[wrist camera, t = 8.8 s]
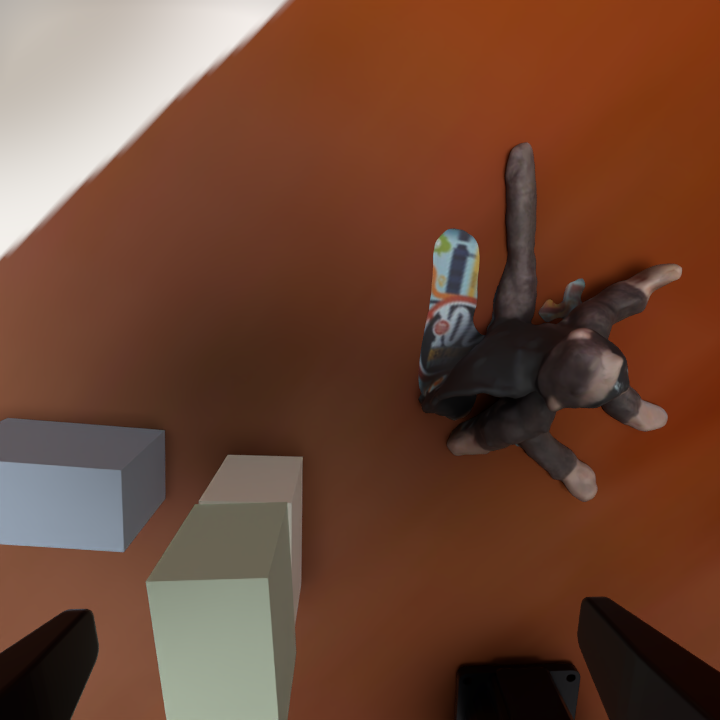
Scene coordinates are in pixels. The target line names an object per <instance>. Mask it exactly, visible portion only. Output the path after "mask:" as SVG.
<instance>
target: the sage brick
mask: <svg viewBox="0 0 720 720" xmlns="http://www.w3.org/2000/svg"><path fill="white" fill-rule="evenodd" d="M146 586H147V593H148V599H149V606H150V613H151V619H152V626H153V633H154V639H155V646H156V653H157V659H158V666H159V673H160V679H161V686H162V693H163V699H164V706H165V713H166V719H167V720H287V718H288V710H289V703H290V695H291V688H292V681H293V673H294V666H295V658H296V639H295V622H294V605H293V588H292V571H291V554H290V537H289V520H288V503H287V502H265V503H228V504H195V505H194V507H193V508H192V510H191V511H190V513H189V514H188V516H187V518H186V519H185V521H184V522H183V524H182V525H181V527H180V529H179V530H178V532H177V533H176V535H175V537H174V538H173V540H172V541H171V543H170V544H169V546H168V548H167V549H166V551H165V552H164V554H163V555H162V557H161V559H160V560H159V562H158V563H157V565H156V567H155V568H154V570H153V571H152V573H151V574H150V576H149V578H148V579H147V581H146Z"/></svg>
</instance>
